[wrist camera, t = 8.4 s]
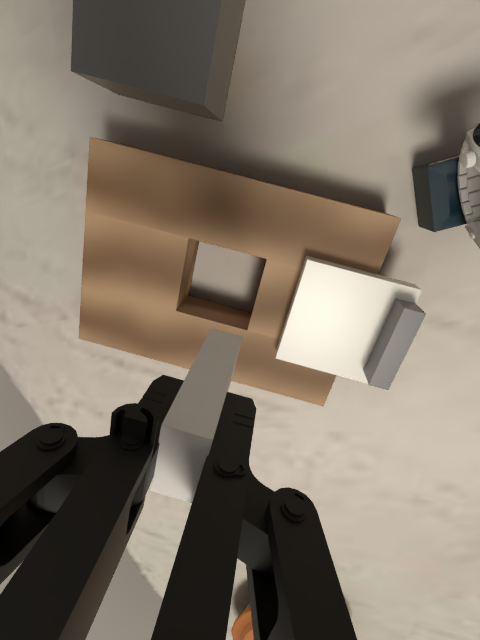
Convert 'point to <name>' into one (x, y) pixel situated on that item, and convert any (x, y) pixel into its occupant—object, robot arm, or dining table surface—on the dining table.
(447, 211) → the watch
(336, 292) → the plate
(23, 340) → the dining table surface
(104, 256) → the socket board
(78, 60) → the plug
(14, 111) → the dining table surface
